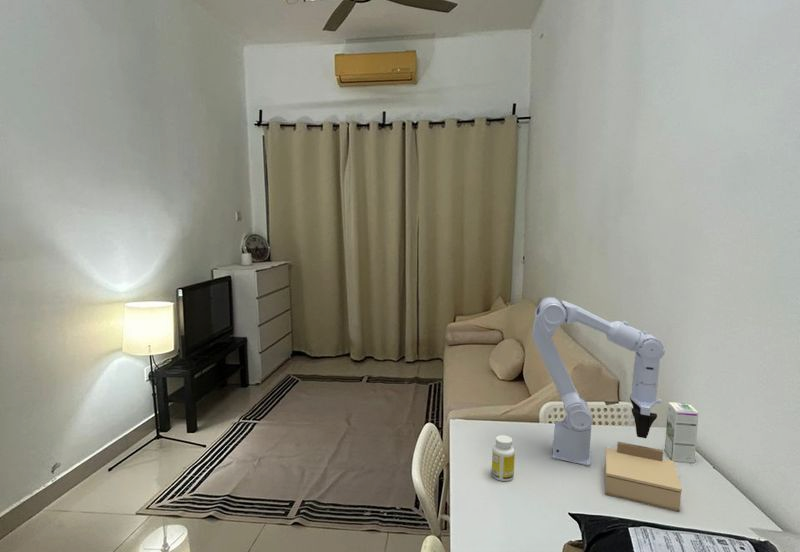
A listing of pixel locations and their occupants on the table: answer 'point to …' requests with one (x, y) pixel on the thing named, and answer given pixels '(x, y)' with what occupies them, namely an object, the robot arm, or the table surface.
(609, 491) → the box
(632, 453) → the lid
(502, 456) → the supplement bottle
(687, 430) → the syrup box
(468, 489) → the table surface
